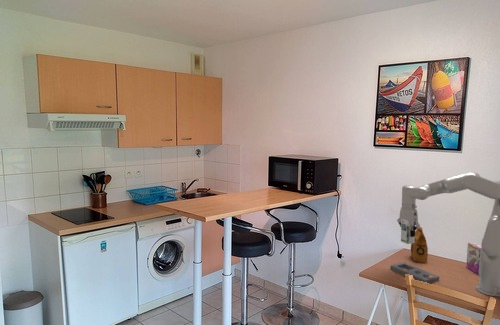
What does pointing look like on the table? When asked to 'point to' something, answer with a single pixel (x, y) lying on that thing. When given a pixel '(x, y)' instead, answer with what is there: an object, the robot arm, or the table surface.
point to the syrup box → (406, 232)
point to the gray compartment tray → (414, 272)
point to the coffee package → (419, 247)
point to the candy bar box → (474, 257)
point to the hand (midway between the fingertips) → (407, 234)
